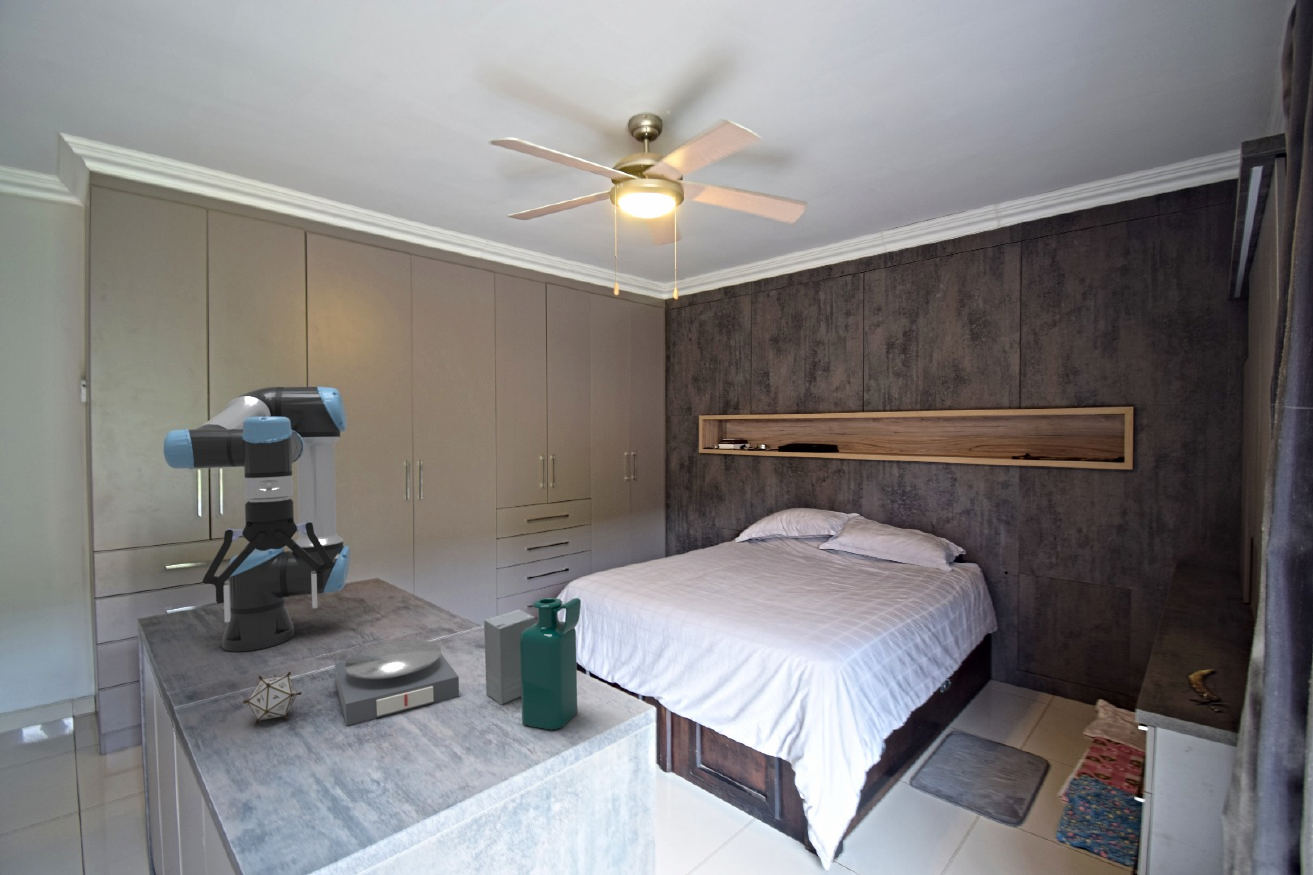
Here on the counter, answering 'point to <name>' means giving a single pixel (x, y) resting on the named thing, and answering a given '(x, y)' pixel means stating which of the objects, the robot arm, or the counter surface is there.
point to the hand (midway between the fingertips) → (272, 613)
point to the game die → (272, 697)
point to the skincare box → (504, 654)
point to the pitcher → (549, 665)
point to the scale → (394, 691)
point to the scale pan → (393, 659)
